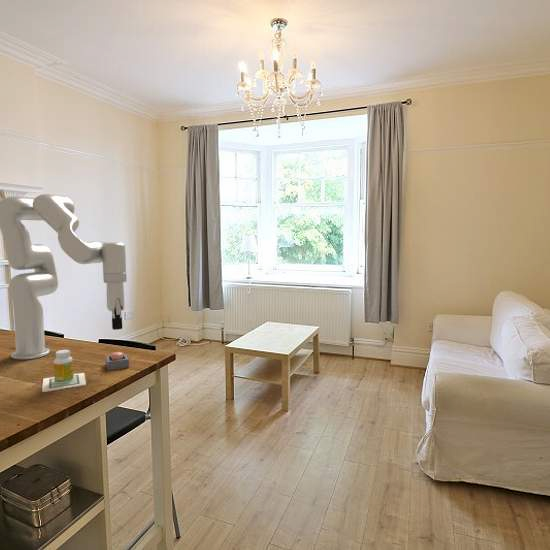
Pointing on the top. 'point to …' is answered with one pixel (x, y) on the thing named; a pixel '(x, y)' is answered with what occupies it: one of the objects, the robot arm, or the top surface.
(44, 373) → the top surface
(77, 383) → the cream and green mat
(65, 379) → the supplement bottle
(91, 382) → the top surface
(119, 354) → the button
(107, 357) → the button base
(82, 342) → the top surface
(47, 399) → the top surface
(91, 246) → the robot arm
